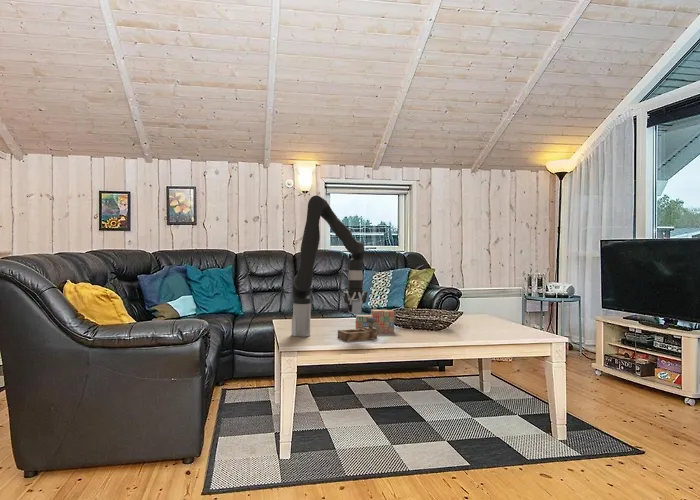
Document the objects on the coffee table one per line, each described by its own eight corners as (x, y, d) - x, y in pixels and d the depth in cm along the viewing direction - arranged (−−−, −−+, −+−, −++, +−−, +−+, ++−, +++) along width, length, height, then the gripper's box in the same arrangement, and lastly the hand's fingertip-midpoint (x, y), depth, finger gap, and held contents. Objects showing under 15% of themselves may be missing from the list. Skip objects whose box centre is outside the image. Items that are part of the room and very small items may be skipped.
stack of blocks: (357, 332, 280) (357, 310, 280) (355, 331, 286) (355, 309, 286) (394, 332, 283) (394, 310, 283) (391, 330, 289) (392, 309, 289)
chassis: (346, 341, 252) (347, 325, 252) (337, 337, 262) (338, 322, 262) (379, 338, 262) (379, 323, 262) (369, 335, 271) (370, 320, 271)
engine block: (353, 313, 257) (353, 300, 257) (348, 312, 262) (348, 299, 262) (361, 313, 259) (361, 300, 259) (356, 311, 264) (357, 299, 264)
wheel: (369, 322, 262) (369, 317, 262) (364, 321, 266) (365, 316, 266) (376, 322, 264) (376, 317, 264) (372, 321, 268) (372, 316, 268)
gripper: (346, 279, 254) (346, 313, 254) (370, 279, 261) (370, 311, 261) (339, 278, 260) (339, 311, 260) (363, 278, 267) (363, 310, 267)
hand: (355, 311), depth 261 cm, fingers closed on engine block, 5 cm apart
